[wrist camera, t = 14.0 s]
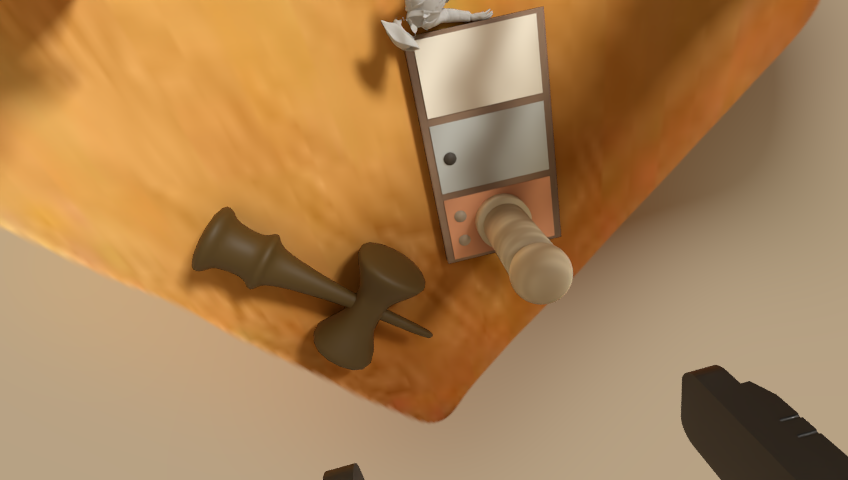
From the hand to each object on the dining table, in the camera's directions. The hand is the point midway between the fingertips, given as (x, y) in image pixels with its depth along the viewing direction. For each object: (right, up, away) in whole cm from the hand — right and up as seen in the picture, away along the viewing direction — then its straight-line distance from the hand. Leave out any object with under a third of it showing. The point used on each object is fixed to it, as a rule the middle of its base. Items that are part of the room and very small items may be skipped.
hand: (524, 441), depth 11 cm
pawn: (+4, +7, +27) cm, 28 cm away
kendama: (-11, +2, +28) cm, 30 cm away
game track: (+3, +12, +25) cm, 28 cm away
